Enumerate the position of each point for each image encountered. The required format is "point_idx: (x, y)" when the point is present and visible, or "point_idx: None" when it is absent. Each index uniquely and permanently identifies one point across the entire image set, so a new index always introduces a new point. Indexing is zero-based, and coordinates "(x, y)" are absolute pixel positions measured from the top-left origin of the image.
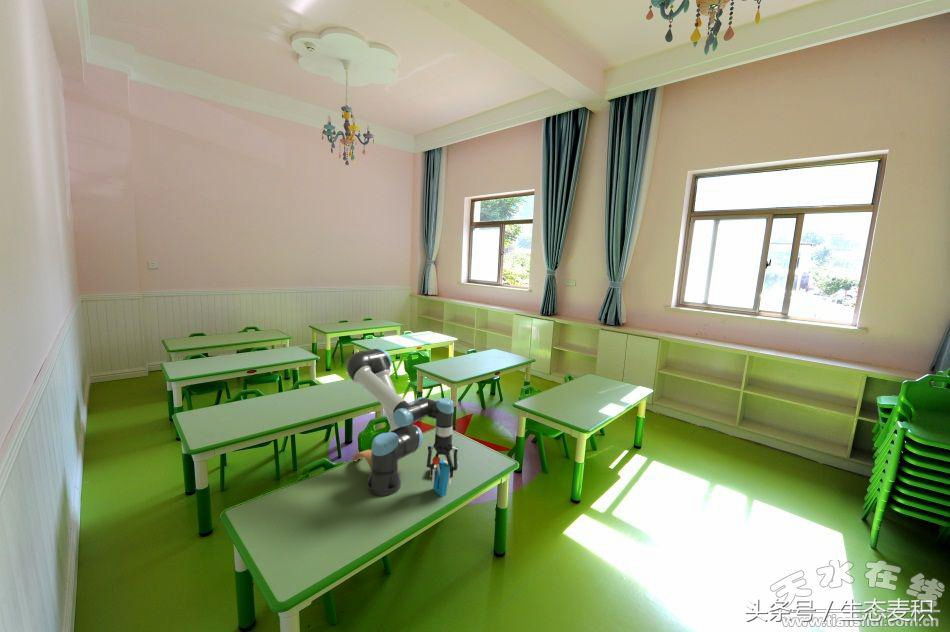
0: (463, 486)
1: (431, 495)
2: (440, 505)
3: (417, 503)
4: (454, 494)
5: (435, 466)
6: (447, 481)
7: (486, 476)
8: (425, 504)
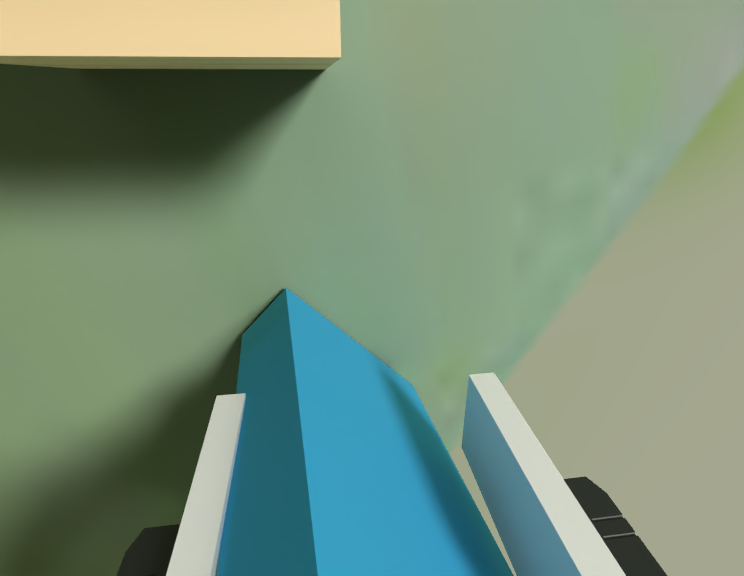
0: (607, 131)
1: None
2: None
3: None
4: (501, 321)
5: (30, 21)
6: (486, 536)
7: None
8: None
